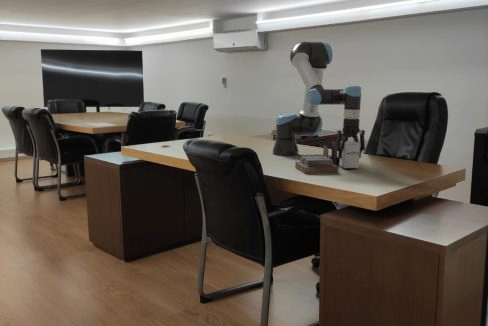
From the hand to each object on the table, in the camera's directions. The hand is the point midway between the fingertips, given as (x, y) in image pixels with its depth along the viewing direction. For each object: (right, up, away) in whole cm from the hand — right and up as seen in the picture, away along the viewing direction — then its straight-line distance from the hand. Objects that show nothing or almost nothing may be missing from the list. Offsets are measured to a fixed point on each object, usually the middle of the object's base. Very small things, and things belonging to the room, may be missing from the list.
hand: (349, 164), depth 234 cm
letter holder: (-4, +1, +17) cm, 17 cm away
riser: (-17, -3, -6) cm, 18 cm away
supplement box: (0, -1, 0) cm, 1 cm away
